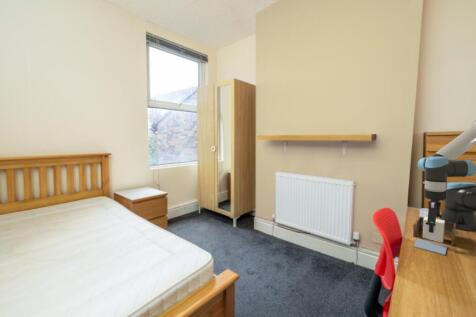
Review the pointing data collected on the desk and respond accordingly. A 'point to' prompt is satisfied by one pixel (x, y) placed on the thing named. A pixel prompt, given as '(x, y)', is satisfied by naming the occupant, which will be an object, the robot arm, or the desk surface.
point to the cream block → (439, 229)
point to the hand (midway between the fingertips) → (433, 234)
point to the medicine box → (423, 212)
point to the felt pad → (430, 246)
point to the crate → (448, 229)
